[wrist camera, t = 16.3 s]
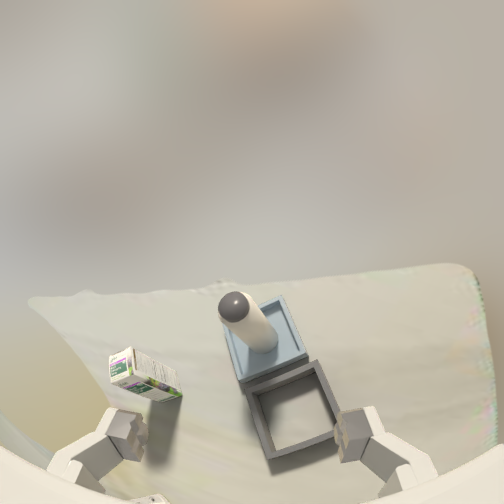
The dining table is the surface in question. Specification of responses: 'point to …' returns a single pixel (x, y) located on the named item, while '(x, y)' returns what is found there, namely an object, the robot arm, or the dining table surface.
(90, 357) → the dining table surface
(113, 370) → the syrup box
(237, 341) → the tray
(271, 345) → the canister
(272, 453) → the frame
